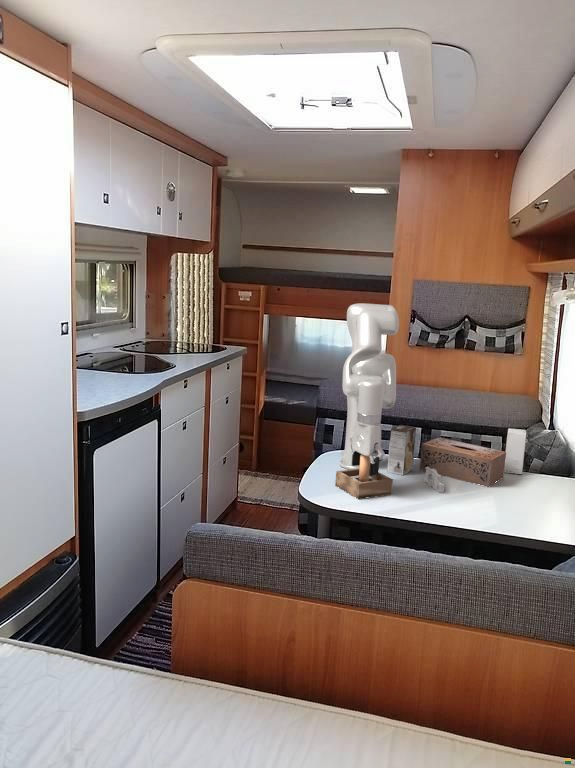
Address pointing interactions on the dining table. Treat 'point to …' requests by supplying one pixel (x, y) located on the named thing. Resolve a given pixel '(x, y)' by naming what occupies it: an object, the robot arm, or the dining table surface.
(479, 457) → the tissue box cover
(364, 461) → the peg
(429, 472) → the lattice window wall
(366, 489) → the box
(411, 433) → the coffee box
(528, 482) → the dining table surface
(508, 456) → the skincare box
